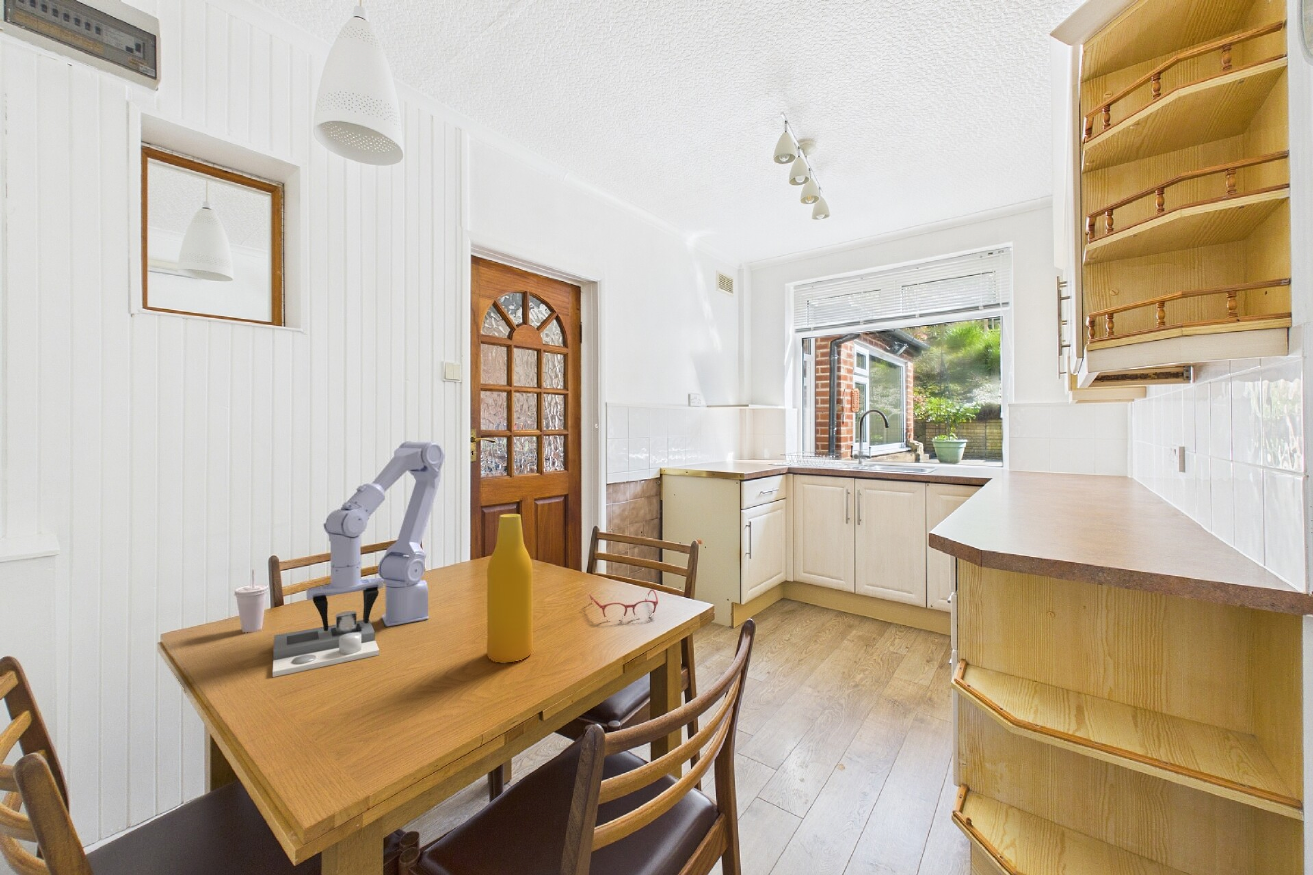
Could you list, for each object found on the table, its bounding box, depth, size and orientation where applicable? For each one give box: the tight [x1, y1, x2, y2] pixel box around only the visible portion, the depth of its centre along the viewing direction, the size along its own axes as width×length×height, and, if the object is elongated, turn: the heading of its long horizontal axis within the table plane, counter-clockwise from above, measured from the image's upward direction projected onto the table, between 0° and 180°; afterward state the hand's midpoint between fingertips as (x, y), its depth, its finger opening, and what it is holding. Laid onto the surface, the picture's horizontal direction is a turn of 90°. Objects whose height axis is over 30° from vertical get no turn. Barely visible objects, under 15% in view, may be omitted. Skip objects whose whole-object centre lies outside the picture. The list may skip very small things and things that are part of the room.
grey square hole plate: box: [272, 619, 376, 661], centre depth 117 cm, size 18×10×2 cm, turn 124°
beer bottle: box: [486, 513, 534, 663], centre depth 112 cm, size 9×9×29 cm
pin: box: [335, 610, 358, 636], centre depth 119 cm, size 4×4×6 cm
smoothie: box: [233, 569, 269, 633], centre depth 126 cm, size 6×6×14 cm
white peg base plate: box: [272, 633, 380, 678], centre depth 109 cm, size 18×6×4 cm, turn 124°
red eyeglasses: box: [588, 589, 659, 618], centre depth 140 cm, size 17×16×5 cm
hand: (346, 625), depth 119 cm, fingers open, 7 cm apart
